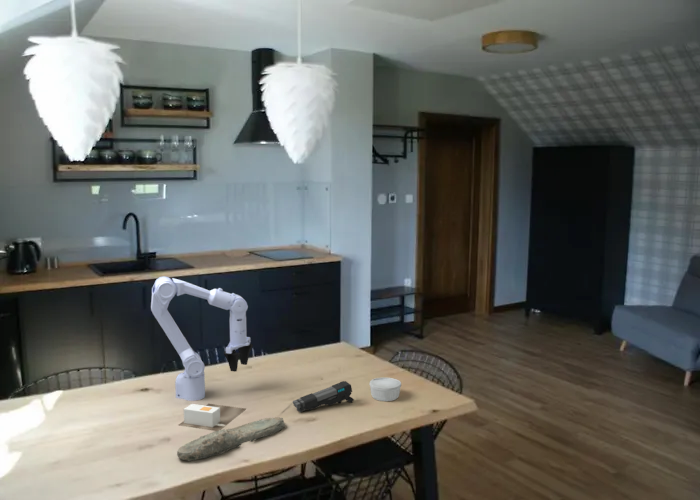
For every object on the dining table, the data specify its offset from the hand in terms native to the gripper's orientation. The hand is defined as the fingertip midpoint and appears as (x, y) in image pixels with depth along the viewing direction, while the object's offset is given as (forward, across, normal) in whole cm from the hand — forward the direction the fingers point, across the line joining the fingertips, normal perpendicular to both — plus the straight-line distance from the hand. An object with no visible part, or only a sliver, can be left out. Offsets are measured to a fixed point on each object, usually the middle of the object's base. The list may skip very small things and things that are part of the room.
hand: (238, 367), depth 211 cm
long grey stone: (+10, -35, -17) cm, 40 cm away
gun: (+10, -2, -33) cm, 34 cm away
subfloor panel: (+9, -23, -3) cm, 25 cm away
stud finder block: (+8, -28, -2) cm, 29 cm away
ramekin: (+10, +13, -50) cm, 53 cm away
